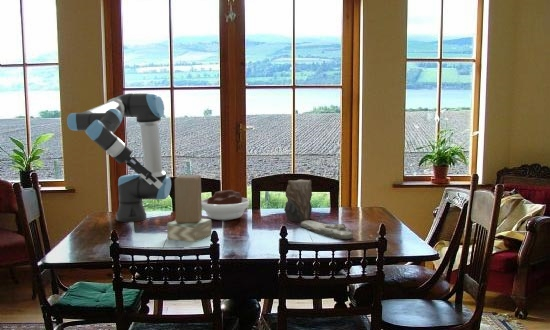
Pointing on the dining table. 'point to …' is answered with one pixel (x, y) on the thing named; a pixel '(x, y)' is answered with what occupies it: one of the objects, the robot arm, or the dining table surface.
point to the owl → (298, 200)
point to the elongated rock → (328, 229)
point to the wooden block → (188, 199)
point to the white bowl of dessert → (225, 205)
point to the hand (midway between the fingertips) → (156, 184)
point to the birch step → (189, 230)
